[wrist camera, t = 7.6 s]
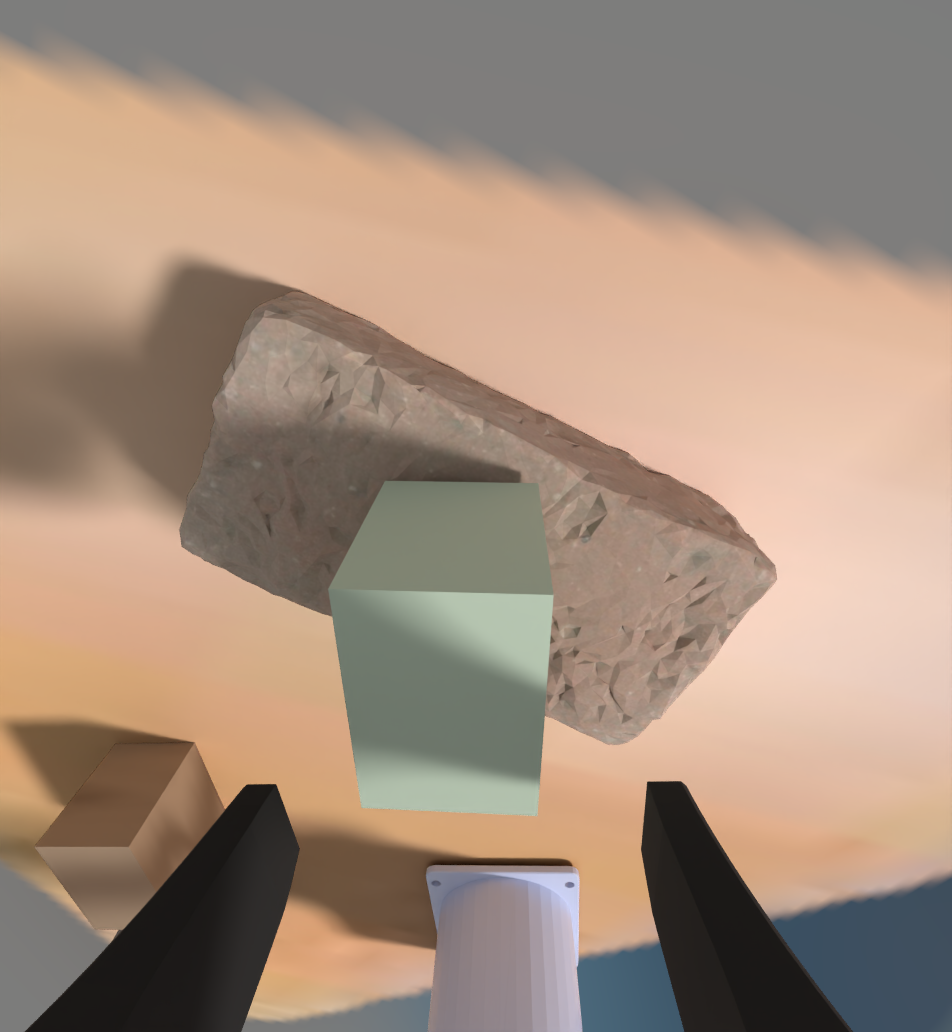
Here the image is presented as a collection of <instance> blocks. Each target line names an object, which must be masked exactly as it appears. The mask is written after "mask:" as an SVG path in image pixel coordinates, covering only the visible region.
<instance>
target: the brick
mask: <svg viewBox="0 0 952 1032" xmlns="http://www.w3.org/2000/svg"><path fill="white" fill-rule="evenodd" d="M222 377H223V383H222V385H221V387H220V389H219V391H218V393H217V394H216V396H215V398H214V401H213V404H212V410H213V415H214V420H215V421H214V423H213V426H212V429H211V435H210V443H209V447H208V449H207V450H206V452H205V453H204V458H203V463H202V467H201V471H200V474H199V476H198V479H197V481H196V482H195V484H194V485H193V487H192V489H191V490H190V492H189V494H188V496H187V508H186V511H185V514H184V517H183V520H182V523H181V526H180V529H179V530H180V537H181V545H182V547H183V548H185V549H186V550H188V551H189V552H191V553H192V554H194V555H196V556H199V557H201V558H202V559H203V560H204V561H207V562H209V563H211V564H213V565H215V566H218V567H221V568H224V569H226V570H227V571H229V572H231V573H232V574H234V575H236V576H238V577H240V578H241V579H243V580H245V581H247V582H249V583H252V584H254V585H257V586H259V587H260V588H262V589H264V590H266V591H268V592H269V593H271V594H273V595H277V596H281V597H283V598H285V599H288V600H290V601H292V602H295V603H297V604H299V605H301V606H304V607H306V608H309V609H312V610H314V611H317V612H319V613H322V614H325V615H329V616H332V611H331V604H330V598H329V591H328V588H329V586H330V585H331V583H332V581H333V579H334V577H335V575H336V573H337V571H338V569H339V567H340V566H341V564H342V562H343V560H344V558H345V556H346V554H347V552H348V550H349V548H350V547H351V545H352V543H353V541H354V539H355V537H356V535H357V533H358V531H359V529H360V528H361V526H362V524H363V522H364V520H365V518H366V516H367V514H368V512H369V510H370V509H371V507H372V505H373V503H374V501H375V499H376V497H377V495H378V493H379V491H380V490H381V488H382V486H383V484H384V482H385V481H433V482H494V483H538V485H539V492H540V499H541V507H542V514H543V521H544V529H545V536H546V543H547V550H548V558H549V565H550V572H551V580H552V587H553V594H554V596H553V610H552V623H551V637H550V650H549V664H548V677H547V691H546V704H545V716H547V717H550V718H553V719H555V720H557V721H559V722H561V723H563V724H565V725H567V726H569V727H571V728H573V729H575V730H577V731H579V732H581V733H584V734H586V735H588V736H591V737H593V738H595V739H597V740H600V741H602V742H604V743H606V744H608V745H620V744H624V743H627V742H629V741H630V740H632V739H634V738H635V737H637V736H638V735H639V734H640V733H641V732H642V731H643V730H644V729H645V728H646V727H647V726H648V725H649V724H650V722H651V721H652V720H655V719H660V718H661V717H662V715H663V714H664V713H665V711H666V710H667V709H668V707H669V706H670V705H671V704H672V703H673V702H674V701H675V700H676V699H677V698H678V697H679V695H680V694H681V693H682V692H683V691H684V690H685V689H686V688H687V687H688V686H689V685H690V684H691V683H692V682H693V681H694V680H695V679H696V678H697V677H698V676H699V675H700V674H701V673H702V672H703V671H704V670H705V669H706V668H707V666H708V665H709V664H710V663H711V661H712V660H713V659H714V658H715V656H716V655H717V653H718V652H719V650H720V648H721V647H722V645H723V644H724V642H725V641H726V639H727V638H728V636H729V635H730V633H731V632H732V631H733V629H734V628H735V627H736V626H737V624H738V623H739V622H740V621H741V620H742V618H743V617H744V616H745V615H746V613H747V612H748V611H749V610H750V608H751V607H752V606H753V605H754V604H755V603H757V602H758V601H759V600H760V599H761V598H762V597H763V596H764V594H765V593H766V592H767V591H768V590H769V589H770V588H771V587H772V586H773V585H774V583H775V582H776V580H777V574H776V568H775V565H774V564H773V563H772V562H771V561H770V559H769V558H768V557H767V556H766V555H765V554H764V553H763V552H762V551H761V550H760V549H759V548H758V546H757V544H756V542H755V540H754V539H753V538H752V537H750V536H749V534H746V533H745V531H744V530H743V529H742V527H741V526H740V524H739V523H738V521H737V519H736V518H735V517H734V516H733V515H732V514H730V513H729V512H728V511H727V510H726V509H725V508H724V507H723V506H722V505H720V504H719V503H717V502H716V501H715V500H714V499H712V498H711V497H710V496H709V495H706V494H704V493H701V492H699V491H697V490H694V489H692V488H690V487H688V486H686V485H685V484H683V483H681V482H679V481H678V480H676V479H674V478H673V477H671V476H668V475H661V474H656V473H651V472H648V471H647V470H646V469H645V468H644V467H642V466H641V465H640V463H639V462H638V461H637V460H636V459H635V458H634V457H633V456H631V455H630V454H629V453H628V452H624V451H621V450H618V449H615V448H611V447H610V446H608V445H606V444H604V443H602V442H600V441H598V440H596V439H594V438H592V437H590V436H588V435H586V434H584V433H582V432H580V431H578V430H576V429H574V428H572V427H571V426H568V425H566V424H564V423H562V422H561V421H559V420H557V419H556V418H554V417H551V416H548V415H544V414H541V413H539V412H537V411H536V410H534V409H532V408H531V407H529V406H528V405H526V404H524V403H521V402H519V401H516V400H514V399H512V398H510V397H507V396H505V395H503V394H501V393H498V392H496V391H494V390H492V389H490V388H488V387H487V386H485V385H483V384H480V383H478V382H476V381H474V380H472V379H470V378H469V377H467V376H466V375H465V374H463V373H461V372H459V371H458V370H455V369H452V368H450V367H447V366H444V365H442V364H440V363H438V362H436V361H434V360H432V359H430V358H428V357H426V356H424V355H422V354H421V353H420V352H418V351H417V350H415V349H414V348H412V347H411V346H409V345H407V344H405V343H403V342H401V341H399V340H398V339H396V338H395V337H393V336H392V335H390V334H389V333H387V332H386V331H384V330H383V329H381V328H380V327H378V326H376V325H374V324H372V323H370V322H368V321H366V320H364V319H361V318H358V317H355V316H353V315H350V314H348V313H346V312H344V311H341V310H339V309H337V308H336V307H334V306H332V305H330V304H328V303H325V302H323V301H321V300H319V299H316V298H314V297H312V296H310V295H308V294H304V293H300V292H289V293H287V294H285V295H284V296H281V297H279V298H276V299H274V300H269V301H267V302H265V303H263V304H261V305H259V306H258V307H256V308H255V309H254V310H253V311H252V313H251V315H250V317H249V319H248V320H247V321H246V323H245V326H244V328H243V331H242V334H241V337H240V339H239V342H238V345H237V348H236V350H235V353H234V356H233V358H232V360H231V362H230V364H229V366H228V367H227V369H226V371H225V373H224V375H223V376H222Z"/></svg>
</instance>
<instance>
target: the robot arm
mask: <svg viewBox="0 0 952 1032" xmlns="http://www.w3.org/2000/svg"><path fill="white" fill-rule="evenodd" d="M299 849H300V848H299V846H298V843H297V840H296V837H295V835H294V832H293V829H292V826H291V824H290V821H289V818H288V815H287V813H286V810H285V807H284V804H283V802H282V799H281V796H280V793H279V791H278V788H277V785H276V784H250V785H246V786H245V787H244V788H243V789H242V790H241V791H240V793H239V794H238V795H237V796H236V797H235V799H234V800H233V801H232V802H231V803H230V805H229V806H228V807H227V808H226V809H225V811H224V812H223V813H222V814H221V816H220V817H219V818H218V819H217V820H216V822H215V823H214V824H213V825H212V827H211V828H210V829H209V830H208V831H207V833H206V834H205V835H204V836H203V837H202V839H201V840H200V841H199V842H198V843H197V845H196V846H195V847H194V848H193V849H192V851H191V852H190V853H189V854H188V855H187V857H186V858H185V859H184V860H183V861H182V863H181V864H180V865H179V866H178V867H177V868H176V870H175V871H174V872H173V873H172V874H171V875H170V877H169V878H168V879H167V880H166V881H165V882H164V884H163V885H162V886H161V887H160V888H159V889H158V891H157V892H156V893H155V894H154V895H153V896H152V898H151V899H150V900H149V901H148V902H147V903H146V904H145V906H144V907H143V908H142V909H141V910H140V911H139V912H138V913H137V915H136V916H135V917H134V918H133V919H132V920H131V921H130V922H129V923H128V924H127V926H126V927H125V928H124V929H123V930H122V931H121V932H120V933H119V934H118V935H117V936H116V938H115V939H114V940H113V941H112V942H111V943H110V944H109V945H108V946H107V947H106V949H105V950H104V951H103V952H102V953H101V954H100V955H99V956H98V957H97V958H96V959H95V961H94V962H93V963H92V964H91V965H90V966H89V967H88V968H87V969H86V970H85V971H84V972H83V973H82V974H81V975H80V976H79V977H78V978H77V979H76V981H75V982H74V983H73V984H72V985H71V986H70V987H69V988H68V989H67V990H66V991H65V992H64V993H63V994H62V995H61V996H60V997H59V998H58V999H57V1000H56V1001H55V1002H54V1003H53V1004H52V1005H51V1006H50V1007H49V1008H48V1009H47V1010H46V1011H45V1012H44V1013H43V1014H42V1015H41V1016H40V1017H39V1018H38V1019H37V1020H36V1021H35V1022H34V1023H33V1024H32V1025H31V1026H30V1027H29V1028H28V1029H27V1030H26V1031H25V1032H241V1031H242V1028H243V1025H244V1023H245V1020H246V1017H247V1014H248V1011H249V1009H250V1006H251V1003H252V1000H253V997H254V995H255V992H256V989H257V986H258V984H259V981H260V978H261V975H262V972H263V970H264V967H265V964H266V961H267V958H268V956H269V953H270V950H271V947H272V944H273V941H274V939H275V936H276V933H277V930H278V927H279V924H280V922H281V919H282V916H283V913H284V910H285V906H286V902H287V899H288V895H289V891H290V887H291V883H292V879H293V875H294V871H295V866H296V862H297V858H298V853H299ZM641 852H642V857H643V863H644V869H645V875H646V880H647V886H648V891H649V897H650V902H651V908H652V913H653V917H654V921H655V925H656V928H657V932H658V936H659V940H660V943H661V947H662V951H663V955H664V958H665V962H666V965H667V969H668V973H669V977H670V980H671V984H672V988H673V991H674V995H675V999H676V1002H677V1006H678V1010H679V1014H680V1017H681V1021H682V1025H683V1028H684V1032H853V1031H852V1030H851V1028H850V1027H849V1026H848V1025H847V1023H846V1022H845V1021H844V1020H843V1018H842V1017H841V1016H840V1015H839V1013H838V1012H837V1011H836V1009H835V1008H834V1007H833V1005H832V1004H831V1003H830V1001H829V1000H828V999H827V998H826V996H825V995H824V994H823V992H822V991H821V990H820V988H819V987H818V986H817V985H816V983H815V982H814V980H813V979H812V978H811V977H810V975H809V973H808V972H807V971H806V969H805V968H804V967H803V965H802V964H801V963H800V961H799V960H798V959H797V957H796V956H795V954H794V953H793V952H792V950H791V949H790V948H789V946H788V945H787V943H786V942H785V941H784V939H783V938H782V936H781V935H780V934H779V932H778V931H777V930H776V928H775V927H774V925H773V924H772V922H771V921H770V919H769V918H768V916H767V915H766V913H765V912H764V910H763V909H762V907H761V906H760V904H759V903H758V902H757V900H756V899H755V897H754V896H753V894H752V893H751V891H750V890H749V888H748V887H747V885H746V884H745V882H744V881H743V879H742V878H741V876H740V875H739V873H738V872H737V870H736V869H735V867H734V866H733V864H732V862H731V861H730V859H729V858H728V856H727V854H726V853H725V851H724V850H723V848H722V846H721V845H720V843H719V842H718V840H717V838H716V837H715V835H714V834H713V832H712V830H711V829H710V827H709V825H708V824H707V822H706V820H705V818H704V817H703V815H702V813H701V812H700V810H699V808H698V806H697V804H696V803H695V801H694V799H693V797H692V796H691V794H690V792H689V790H688V788H687V786H686V785H685V784H683V783H682V782H681V781H669V782H647V791H646V802H645V813H644V824H643V835H642V846H641ZM426 880H427V885H428V890H429V895H430V900H431V905H432V910H433V915H434V920H435V925H436V930H437V935H438V936H437V946H436V955H435V965H434V975H433V985H432V995H431V1004H430V1015H429V1024H428V1032H582V1022H581V1011H580V1001H579V990H578V980H577V969H576V967H577V966H578V938H579V872H578V870H577V869H576V868H575V867H572V866H502V865H432V866H429V867H428V868H427V872H426Z"/></svg>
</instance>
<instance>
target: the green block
mask: <svg viewBox="0 0 952 1032" xmlns="http://www.w3.org/2000/svg"><path fill="white" fill-rule="evenodd" d="M328 591H329V598H330V604H331V611H332V617H333V624H334V631H335V637H336V644H337V650H338V657H339V663H340V670H341V676H342V683H343V689H344V696H345V703H346V709H347V716H348V722H349V729H350V735H351V742H352V748H353V755H354V762H355V768H356V775H357V781H358V788H359V794H360V801H361V807H362V808H376V809H398V810H419V811H441V812H463V813H485V814H507V815H528V816H537V812H538V799H539V785H540V772H541V758H542V745H543V731H544V718H545V704H546V691H547V677H548V664H549V650H550V637H551V623H552V610H553V596H554V594H553V587H552V580H551V572H550V565H549V558H548V550H547V543H546V536H545V529H544V521H543V514H542V507H541V499H540V492H539V485H538V483H494V482H433V481H385V482H384V484H383V486H382V488H381V490H380V491H379V493H378V495H377V497H376V499H375V501H374V503H373V505H372V507H371V509H370V510H369V512H368V514H367V516H366V518H365V520H364V522H363V524H362V526H361V528H360V529H359V531H358V533H357V535H356V537H355V539H354V541H353V543H352V545H351V547H350V548H349V550H348V552H347V554H346V556H345V558H344V560H343V562H342V564H341V566H340V567H339V569H338V571H337V573H336V575H335V577H334V579H333V581H332V583H331V585H330V586H329V588H328Z"/></svg>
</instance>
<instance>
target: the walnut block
mask: <svg viewBox="0 0 952 1032" xmlns="http://www.w3.org/2000/svg"><path fill="white" fill-rule="evenodd" d="M224 811H225V809H224V807H223V804H222V802H221V800H220V798H219V796H218V793H217V791H216V789H215V787H214V784H213V782H212V780H211V778H210V776H209V773H208V771H207V769H206V767H205V765H204V762H203V760H202V758H201V756H200V753H199V751H198V749H197V747H196V745H195V743H137V744H115V745H114V746H113V748H112V749H111V750H110V751H109V753H108V754H107V755H106V756H105V758H104V759H103V760H102V761H101V763H100V764H99V765H98V767H97V768H96V769H95V770H94V772H93V773H92V774H91V775H90V777H89V778H88V779H87V781H86V782H85V783H84V784H83V786H82V787H81V788H80V789H79V791H78V792H77V793H76V794H75V796H74V797H73V798H72V800H71V801H70V802H69V803H68V805H67V806H66V807H65V808H64V810H63V811H62V812H61V813H60V815H59V816H58V817H57V819H56V820H55V821H54V822H53V824H52V825H51V826H50V827H49V829H48V830H47V831H46V832H45V834H44V835H43V836H42V838H41V839H40V840H39V841H38V843H37V844H36V845H35V846H34V847H35V849H36V850H37V851H38V853H39V854H40V855H41V857H42V858H43V860H44V861H45V862H46V864H47V865H48V866H49V868H50V869H51V870H52V872H53V873H54V874H55V876H56V877H57V879H58V880H59V881H60V883H61V884H62V885H63V887H64V888H65V889H66V891H67V892H68V894H69V895H70V896H71V898H72V899H73V900H74V902H75V903H76V904H77V906H78V907H79V909H80V910H81V911H82V913H83V914H84V915H85V917H86V918H87V919H88V921H89V922H90V924H91V925H92V926H93V928H94V929H102V930H123V929H124V928H125V927H126V926H127V924H128V923H129V922H130V921H131V920H132V919H133V918H134V917H135V916H136V915H137V913H138V912H139V911H140V910H141V909H142V908H143V907H144V906H145V904H146V903H147V902H148V901H149V900H150V899H151V898H152V896H153V895H154V894H155V893H156V892H157V891H158V889H159V888H160V887H161V886H162V885H163V884H164V882H165V881H166V880H167V879H168V878H169V877H170V875H171V874H172V873H173V872H174V871H175V870H176V868H177V867H178V866H179V865H180V864H181V863H182V861H183V860H184V859H185V858H186V857H187V855H188V854H189V853H190V852H191V851H192V849H193V848H194V847H195V846H196V845H197V843H198V842H199V841H200V840H201V839H202V837H203V836H204V835H205V834H206V833H207V831H208V830H209V829H210V828H211V827H212V825H213V824H214V823H215V822H216V820H217V819H218V818H219V817H220V816H221V814H222V813H223V812H224Z"/></svg>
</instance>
